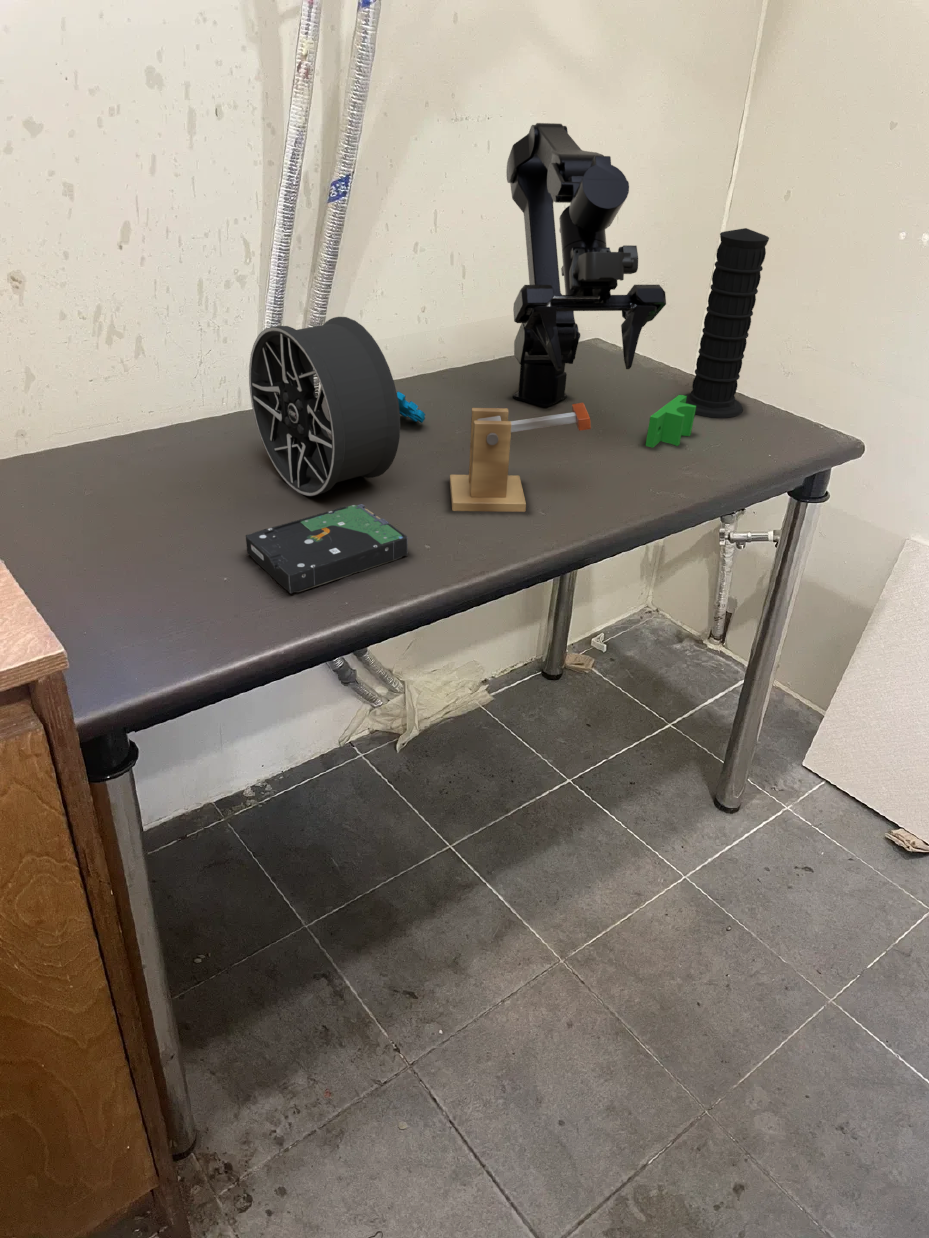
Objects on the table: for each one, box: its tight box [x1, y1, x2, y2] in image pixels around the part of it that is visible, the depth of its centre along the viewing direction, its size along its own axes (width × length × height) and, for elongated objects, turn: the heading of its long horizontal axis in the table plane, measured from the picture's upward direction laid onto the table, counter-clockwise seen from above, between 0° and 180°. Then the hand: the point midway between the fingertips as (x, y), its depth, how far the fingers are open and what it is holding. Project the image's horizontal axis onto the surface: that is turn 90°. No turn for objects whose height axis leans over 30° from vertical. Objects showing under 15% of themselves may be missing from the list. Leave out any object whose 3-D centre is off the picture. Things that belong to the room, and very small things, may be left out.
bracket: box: [449, 407, 527, 513], centre depth 112 cm, size 9×8×11 cm
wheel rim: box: [248, 316, 401, 497], centre depth 111 cm, size 20×9×20 cm, turn 39°
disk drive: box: [245, 503, 409, 594], centre depth 100 cm, size 10×3×15 cm
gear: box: [396, 390, 426, 424], centre depth 131 cm, size 11×6×10 cm
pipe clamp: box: [645, 394, 696, 449], centre depth 132 cm, size 11×4×5 cm, turn 147°
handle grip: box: [683, 227, 770, 419], centre depth 137 cm, size 10×26×10 cm
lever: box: [478, 402, 592, 433], centre depth 110 cm, size 13×5×2 cm, turn 93°
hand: (594, 368), depth 116 cm, fingers open, 9 cm apart
